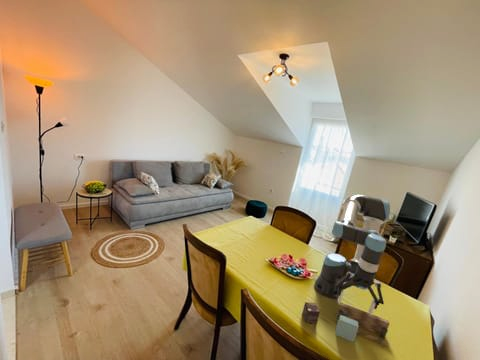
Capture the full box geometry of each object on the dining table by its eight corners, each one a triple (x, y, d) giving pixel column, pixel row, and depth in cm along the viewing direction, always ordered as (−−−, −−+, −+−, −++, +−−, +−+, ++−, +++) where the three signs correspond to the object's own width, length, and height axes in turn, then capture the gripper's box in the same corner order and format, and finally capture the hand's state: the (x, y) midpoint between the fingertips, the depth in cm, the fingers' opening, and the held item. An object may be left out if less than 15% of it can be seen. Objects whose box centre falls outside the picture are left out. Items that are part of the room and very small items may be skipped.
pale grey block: (335, 334, 111) (340, 319, 109) (335, 329, 114) (340, 314, 112) (353, 342, 109) (358, 327, 106) (352, 336, 112) (357, 321, 110)
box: (313, 314, 121) (316, 303, 120) (316, 324, 116) (320, 312, 114) (301, 313, 121) (304, 301, 119) (305, 322, 115) (308, 310, 114)
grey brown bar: (336, 325, 117) (340, 312, 115) (336, 314, 124) (340, 302, 122) (387, 346, 109) (392, 333, 107) (383, 333, 116) (388, 320, 115)
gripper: (338, 262, 103) (326, 301, 108) (401, 283, 95) (385, 324, 100) (337, 254, 110) (326, 292, 115) (396, 273, 102) (382, 312, 107)
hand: (354, 307), depth 107 cm, fingers open, 13 cm apart
